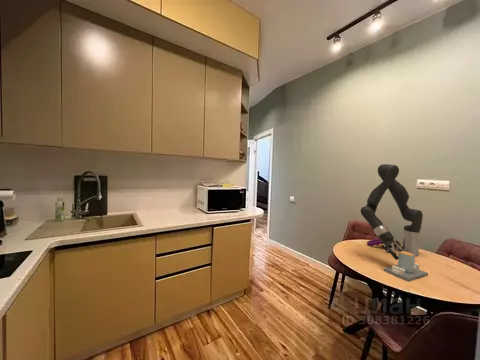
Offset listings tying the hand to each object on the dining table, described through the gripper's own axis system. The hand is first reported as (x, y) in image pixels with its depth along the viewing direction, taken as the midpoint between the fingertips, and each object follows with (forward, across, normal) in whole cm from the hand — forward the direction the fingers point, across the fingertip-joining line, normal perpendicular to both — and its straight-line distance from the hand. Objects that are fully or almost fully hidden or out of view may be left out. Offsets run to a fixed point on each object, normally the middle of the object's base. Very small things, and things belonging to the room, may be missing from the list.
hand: (401, 258), depth 129 cm
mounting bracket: (-17, +32, +28) cm, 46 cm away
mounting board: (+7, 0, +4) cm, 8 cm away
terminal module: (+6, 0, +3) cm, 7 cm away
